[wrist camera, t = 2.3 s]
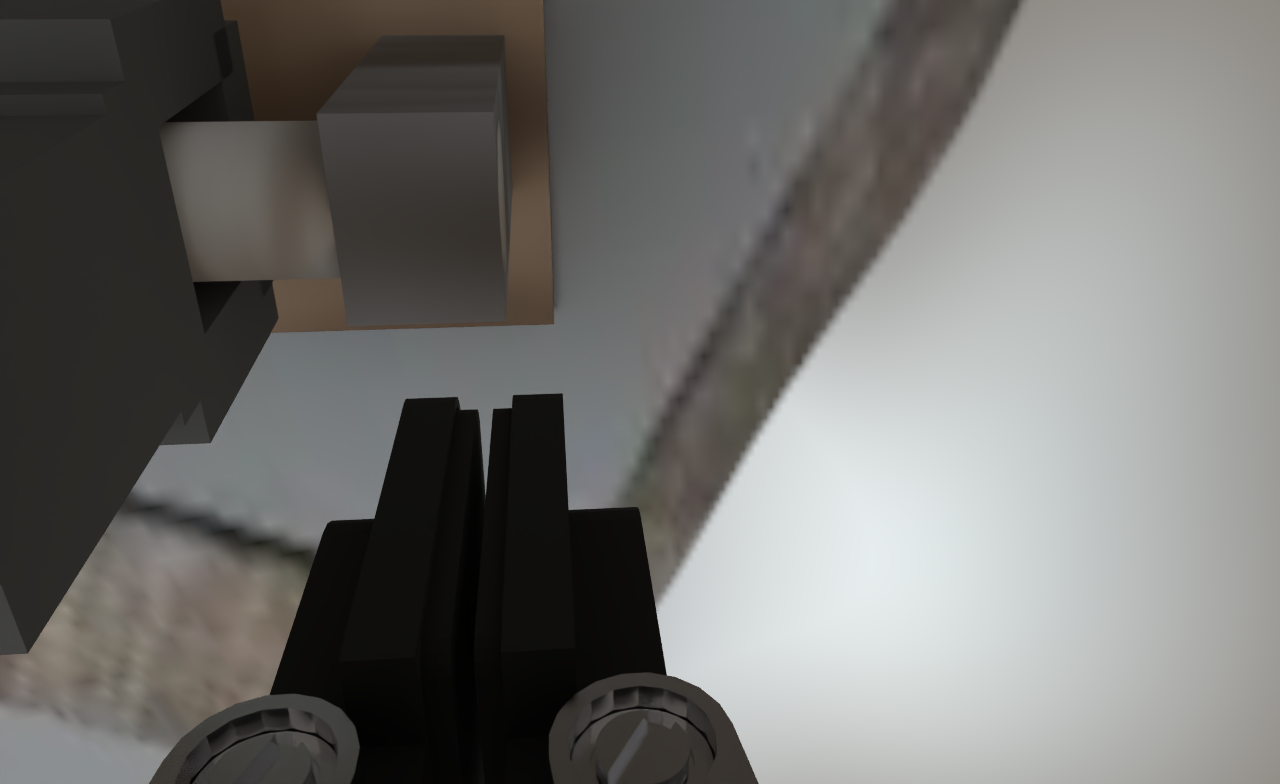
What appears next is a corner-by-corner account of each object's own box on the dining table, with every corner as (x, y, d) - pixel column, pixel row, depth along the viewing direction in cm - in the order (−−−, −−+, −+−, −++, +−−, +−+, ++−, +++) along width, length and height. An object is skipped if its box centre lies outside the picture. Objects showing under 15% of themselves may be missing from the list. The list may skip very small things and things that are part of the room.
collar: (76, -27, 20) (-555, 132, 8) (229, -26, 20) (-178, 127, 9) (159, 306, 23) (-204, 741, 12) (287, 303, 24) (55, 724, 12)
